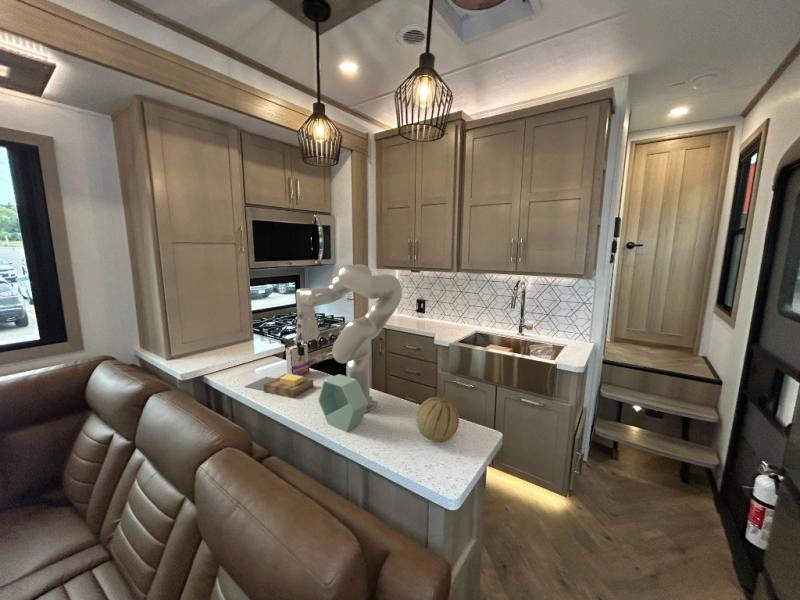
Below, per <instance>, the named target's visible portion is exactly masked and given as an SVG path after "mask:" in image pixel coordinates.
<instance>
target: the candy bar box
mask: <svg viewBox="0 0 800 600" xmlns="http://www.w3.org/2000/svg"><path fill="white" fill-rule="evenodd" d="M303 347H304V352H305V355H304V356H300V355H298V347H297V346H296V345H295V344H294V345H290V346H288V347H285V358H286V359H285V360H286V372H287V374H292V375H298V376H305V375H308V374H310V359H309V344H307V343H304V345H303Z"/></svg>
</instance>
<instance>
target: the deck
mask: <svg viewBox="0 0 800 600" xmlns="http://www.w3.org/2000/svg"><path fill="white" fill-rule="evenodd" d="M285 375H287V374H286V373H284V374H282V375H280V376H278V377H275V378H276V379H273V380H271V381H269V382H267V383H265V384H263V385H264V391H263V393H267V394H271V395H276V396H280V397H285V398H289V399H290V398H291V399H295V398H296V397H298V396H301V395H302V394H304V393H305V392H307V391H309V390H311V389H313V388H314V379H313V378H308V377H303V380H304V381H303V382H301V383H300V384H298V385H296V386H293V385H287V384H282V383H280V378H281V377H283V376H285Z"/></svg>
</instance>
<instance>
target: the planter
mask: <svg viewBox="0 0 800 600" xmlns="http://www.w3.org/2000/svg"><path fill="white" fill-rule="evenodd" d="M317 402H318V404H319V406H320V408H321V411H322V412H323V415H324V418H325V421H326V422H327V424H328V425H330V426H332V427H334V428H335V429H339V430H340V431H343V432H344V433H348V432H350V431H351V430H352V429H354V428H356V427H357V426H359V425H361V424H362V422H363V419H364V416H365V413H366V412H365V411H366V408H367V405H368V402H367V400H366V398H365V395H364V393H363V391H362V389H361V387H360V384H359V382H358V380H357V379H354V378H350V377H347V375H344V374H339V373H338V374H336V375H333V376H331V377H328V378H326V379H324V380H323V382H322V386H321V389H320V393H319V396H318V401H317Z"/></svg>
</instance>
